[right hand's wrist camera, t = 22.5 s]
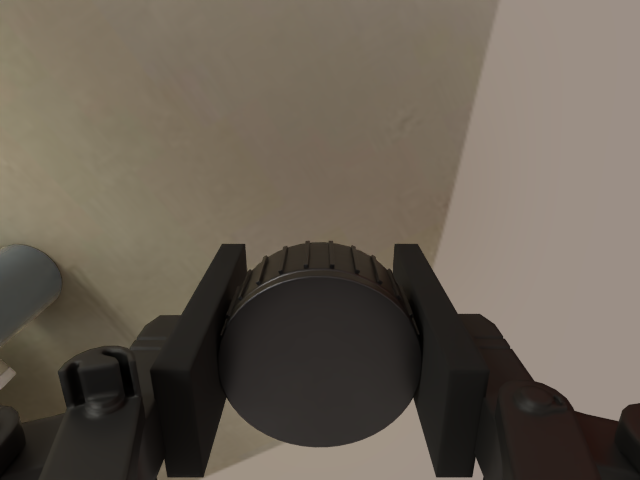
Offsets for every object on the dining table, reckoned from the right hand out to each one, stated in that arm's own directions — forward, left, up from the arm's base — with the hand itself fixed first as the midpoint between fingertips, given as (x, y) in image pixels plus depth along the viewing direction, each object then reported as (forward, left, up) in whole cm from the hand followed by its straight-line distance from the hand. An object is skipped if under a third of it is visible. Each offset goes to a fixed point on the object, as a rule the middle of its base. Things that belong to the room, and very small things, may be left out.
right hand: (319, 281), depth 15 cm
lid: (0, 0, +4) cm, 4 cm away
